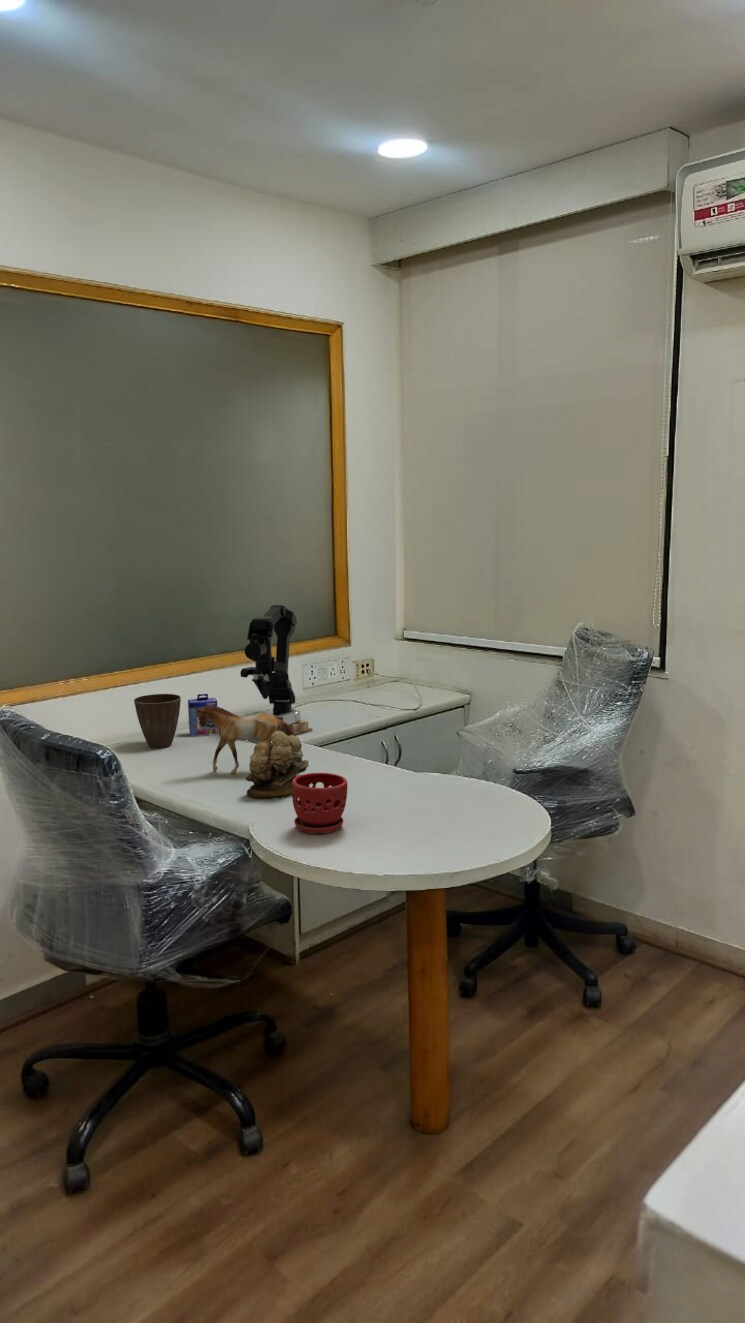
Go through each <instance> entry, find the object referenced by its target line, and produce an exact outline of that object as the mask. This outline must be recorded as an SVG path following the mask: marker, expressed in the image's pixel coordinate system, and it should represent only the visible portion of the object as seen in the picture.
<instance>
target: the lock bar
mask: <svg viewBox="0 0 745 1323" xmlns="http://www.w3.org/2000/svg"><path fill="white" fill-rule="evenodd" d="M273 717H275V718H278V717H283V721H284V722H285V723H287V724H288V725H289V724H292V723H297V722H300V720H301V711H300V710H292V711H291V712H289V713H285V714H281V715H277V716H273Z"/></svg>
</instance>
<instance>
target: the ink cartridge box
mask: <svg viewBox="0 0 745 1323" xmlns="http://www.w3.org/2000/svg"><path fill="white" fill-rule="evenodd" d="M207 705H212V706H217V707H218V700H217V698H216V697H209V694H208V693H203V694H202V693H200V694H199V693H198V694H197V698H193V699H192V698H191V699H190V698H189V699H187V712H188V715H187V716H188V729H189V736H190V737H191V736H193V737H198V736H197V735H205V736H210V735H209V734H218V735H219V729H218V728H217V727H216V725H215V724H214V723H213V721H212V720H211V719H209V720H208V721H207V722H206V724H205V725H204V729H203V730H202V731H199V730H198V729H197V716H196V715H197V714H196V711H197V710H196V709H194V708H201V707H203V706H207Z"/></svg>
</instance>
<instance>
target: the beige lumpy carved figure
mask: <svg viewBox="0 0 745 1323" xmlns="http://www.w3.org/2000/svg"><path fill="white" fill-rule="evenodd" d="M271 741H272V744H273V748H272V749H271V747H270V746H269V745H268V744H266V743H262V742H260V743H258V744H257V743H255V745H254V747H253V753H252V754H251V755H250V759H249V764H248V766H249V767H248V769H249V771H250V773H247V774H245V778H244V779H245V780H246V781H247V782H252V783H253V785H251V786H250V787H249V788H248V789H247V791H246V796H247V797H249V798H251V799H253V800H274V799H273V798H278V799H283V798H282V797H285V798H287V797H286V796H290V795H292V780H293V779H294V778H295V777H297V776H298V775H299V774H301V773H304V772H306V771H307V768H308V767H309V760H308V759H307V760H306V759H303V756H302V754H303V751H302V742H301V740H300V738H299V737H298V735H297V736H294V735H290V736H287V735H286V734H285V733H284V732H280V731H276V732H274V733H273V734H272V736H271ZM303 755H304V754H303ZM302 786H305V785H302ZM290 797H291V796H290Z"/></svg>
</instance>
